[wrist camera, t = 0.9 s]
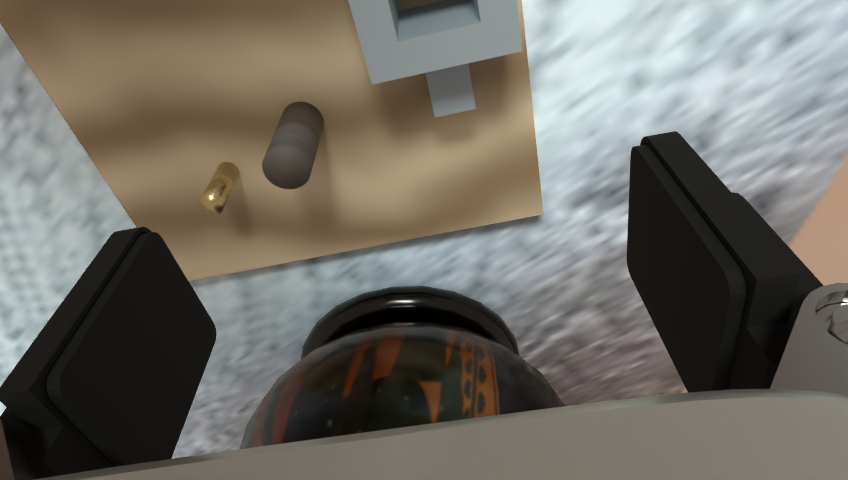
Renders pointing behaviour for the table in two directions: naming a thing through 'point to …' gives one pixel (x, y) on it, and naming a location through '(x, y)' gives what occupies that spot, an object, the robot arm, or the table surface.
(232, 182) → the cylinder
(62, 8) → the post base
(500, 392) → the black orange vase
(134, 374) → the robot arm
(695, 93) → the table surface
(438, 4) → the grey square hole block
